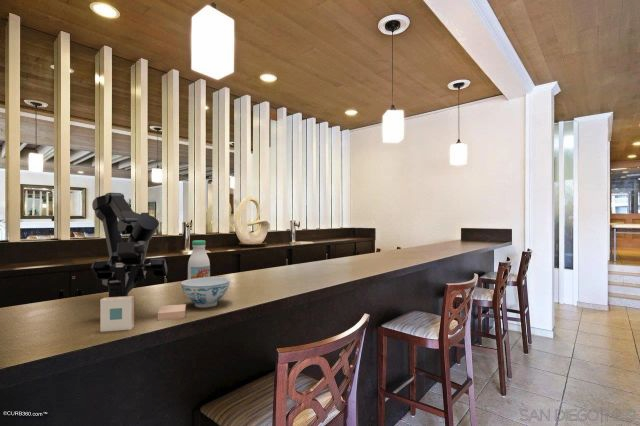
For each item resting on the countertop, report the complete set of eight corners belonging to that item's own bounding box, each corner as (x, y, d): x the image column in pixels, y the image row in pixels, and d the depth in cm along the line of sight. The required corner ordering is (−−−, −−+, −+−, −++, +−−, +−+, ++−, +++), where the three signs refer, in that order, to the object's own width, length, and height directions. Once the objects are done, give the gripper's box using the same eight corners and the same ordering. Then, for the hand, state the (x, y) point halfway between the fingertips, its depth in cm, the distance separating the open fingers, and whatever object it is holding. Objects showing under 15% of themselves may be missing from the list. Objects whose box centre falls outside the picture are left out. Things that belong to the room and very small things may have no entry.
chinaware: (239, 302, 114) (239, 279, 114) (203, 313, 101) (203, 287, 101) (208, 297, 121) (208, 275, 122) (171, 307, 109) (171, 282, 109)
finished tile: (160, 314, 102) (160, 306, 102) (185, 311, 104) (185, 304, 105) (157, 321, 95) (157, 313, 95) (184, 319, 97) (184, 310, 97)
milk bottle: (183, 296, 123) (183, 241, 123) (196, 292, 130) (195, 239, 130) (202, 297, 121) (202, 241, 121) (214, 293, 128) (213, 239, 129)
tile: (104, 328, 88) (104, 297, 88) (133, 326, 89) (133, 296, 90) (100, 331, 85) (100, 299, 86) (131, 329, 87) (131, 298, 87)
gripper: (93, 232, 96) (75, 278, 85) (165, 231, 100) (156, 274, 89) (104, 257, 103) (89, 302, 92) (170, 255, 108) (163, 298, 97)
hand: (124, 294), depth 92 cm, fingers closed
